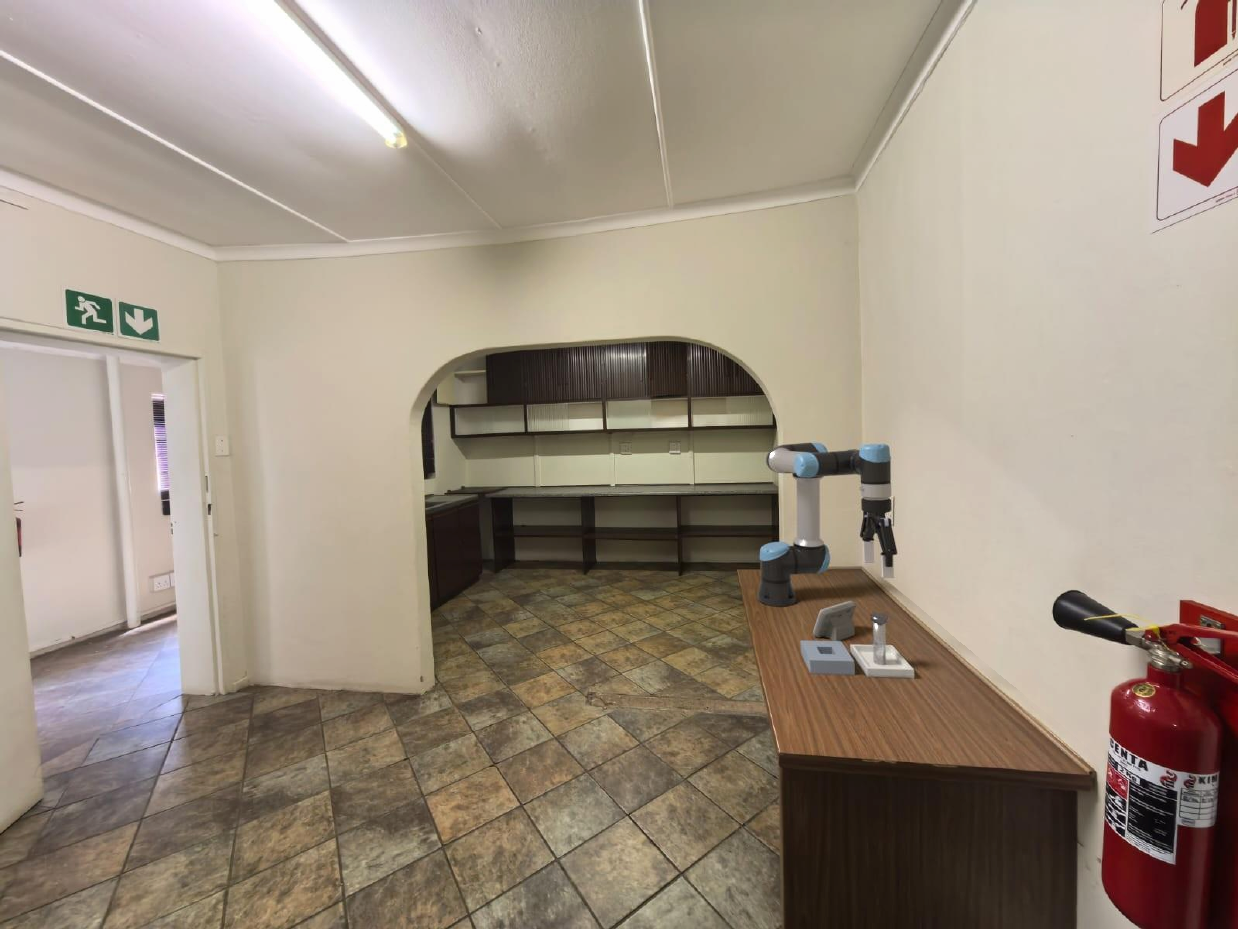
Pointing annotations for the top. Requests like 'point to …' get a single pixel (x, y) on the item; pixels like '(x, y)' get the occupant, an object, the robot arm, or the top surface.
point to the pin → (879, 638)
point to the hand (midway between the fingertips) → (877, 569)
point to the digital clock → (836, 621)
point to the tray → (892, 668)
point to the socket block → (827, 657)
